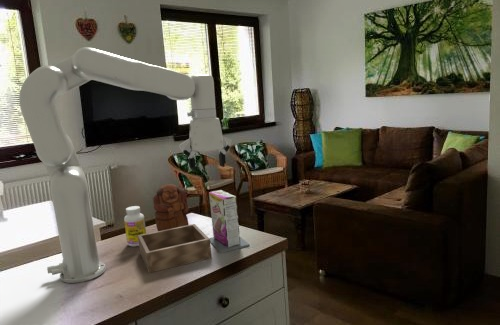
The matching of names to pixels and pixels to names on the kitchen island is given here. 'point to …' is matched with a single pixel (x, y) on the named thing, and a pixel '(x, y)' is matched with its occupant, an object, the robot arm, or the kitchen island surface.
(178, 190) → the wooden figurine
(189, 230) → the open wooden crate
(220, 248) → the grey mat
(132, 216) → the supplement bottle
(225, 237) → the candy bar box
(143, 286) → the kitchen island surface
